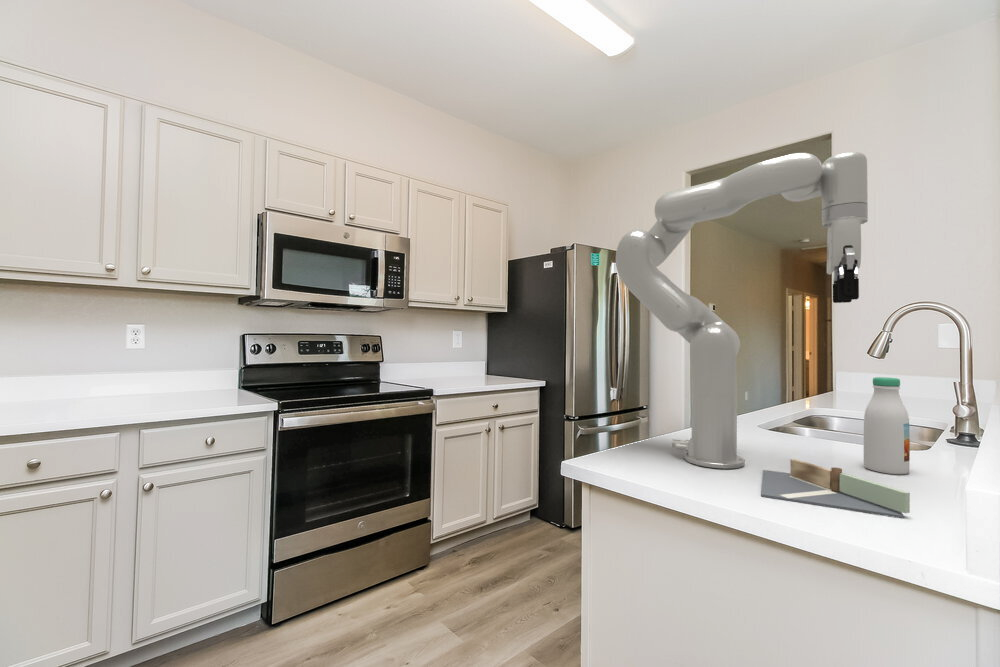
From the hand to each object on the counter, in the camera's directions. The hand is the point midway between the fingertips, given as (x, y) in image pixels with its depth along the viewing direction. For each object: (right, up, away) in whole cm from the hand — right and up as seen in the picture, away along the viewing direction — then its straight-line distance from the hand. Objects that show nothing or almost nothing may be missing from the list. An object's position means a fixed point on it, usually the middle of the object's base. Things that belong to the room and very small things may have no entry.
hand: (845, 301), depth 96 cm
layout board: (-10, -36, -8) cm, 38 cm away
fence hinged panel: (-6, -35, -15) cm, 39 cm away
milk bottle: (+14, -36, +7) cm, 39 cm away
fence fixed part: (-9, -36, -5) cm, 37 cm away
